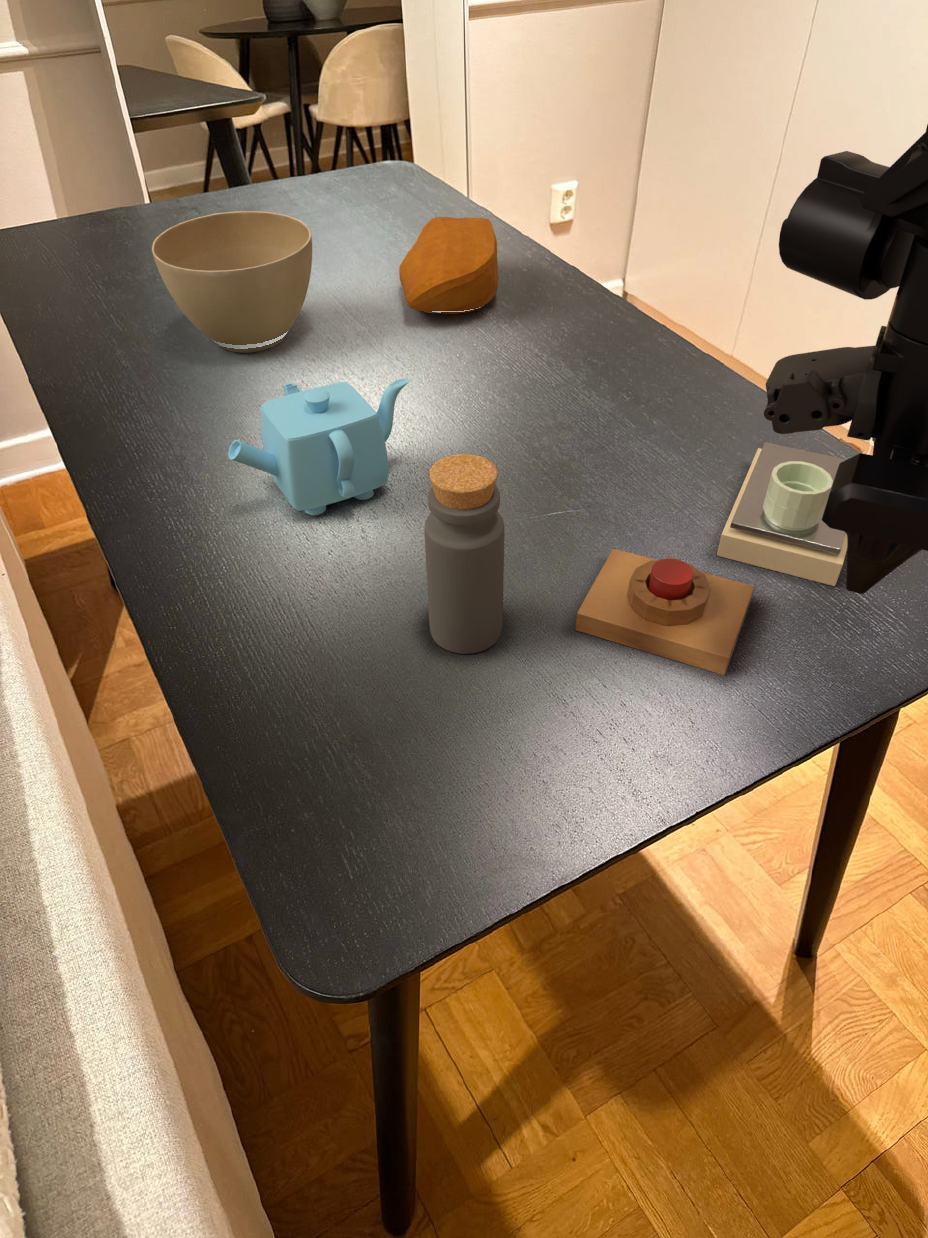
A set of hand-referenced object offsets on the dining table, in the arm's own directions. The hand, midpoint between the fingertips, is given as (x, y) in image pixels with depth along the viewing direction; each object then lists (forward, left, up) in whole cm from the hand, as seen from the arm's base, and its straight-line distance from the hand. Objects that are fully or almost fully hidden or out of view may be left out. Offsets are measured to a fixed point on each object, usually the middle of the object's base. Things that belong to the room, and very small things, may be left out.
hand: (865, 550), depth 60 cm
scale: (+5, -18, -12) cm, 22 cm away
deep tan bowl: (+73, -29, -12) cm, 79 cm away
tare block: (+12, -1, -12) cm, 17 cm away
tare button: (+12, -1, -8) cm, 15 cm away
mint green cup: (+6, -14, -8) cm, 17 cm away
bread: (+56, -49, -12) cm, 76 cm away
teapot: (+47, -6, -12) cm, 49 cm away
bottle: (+26, +7, -12) cm, 30 cm away
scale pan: (+5, -18, -9) cm, 21 cm away
